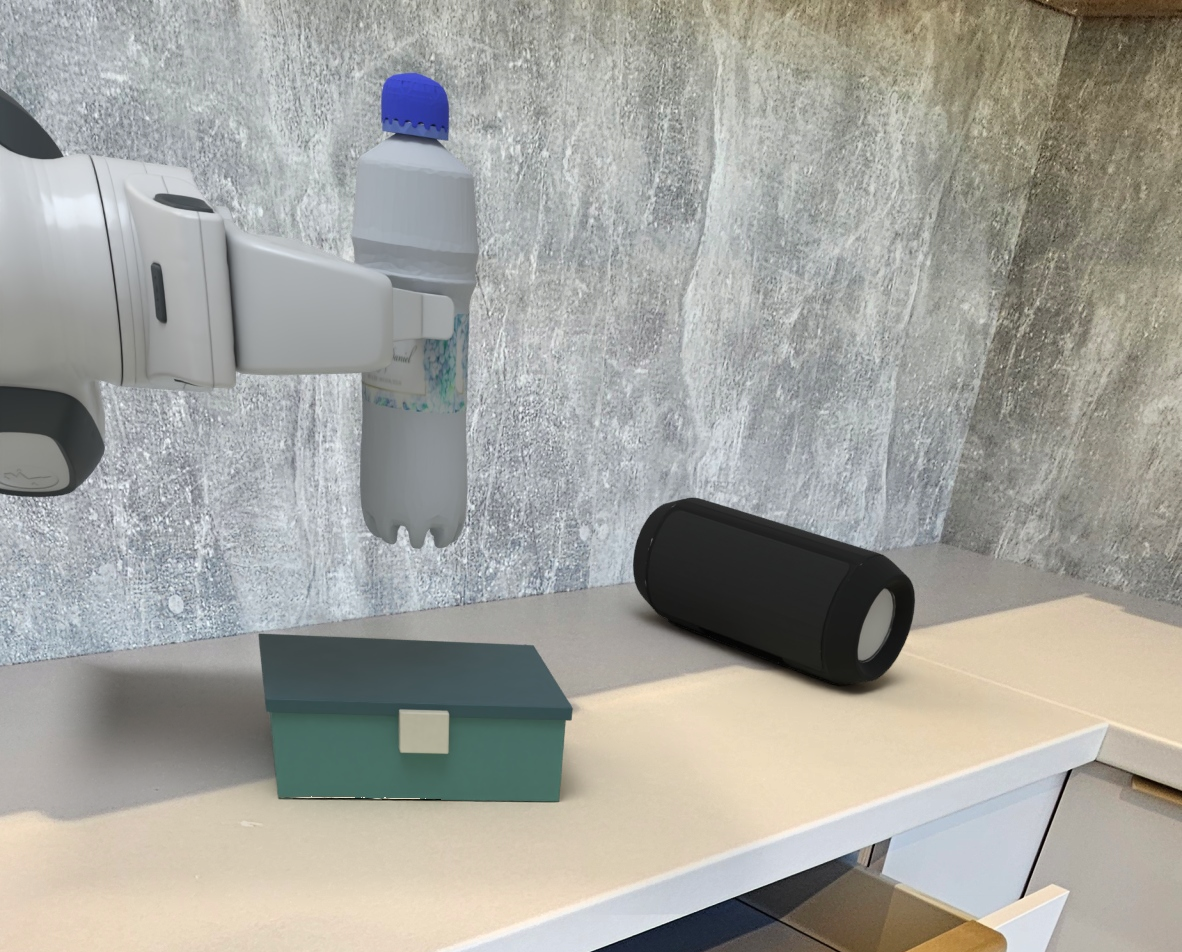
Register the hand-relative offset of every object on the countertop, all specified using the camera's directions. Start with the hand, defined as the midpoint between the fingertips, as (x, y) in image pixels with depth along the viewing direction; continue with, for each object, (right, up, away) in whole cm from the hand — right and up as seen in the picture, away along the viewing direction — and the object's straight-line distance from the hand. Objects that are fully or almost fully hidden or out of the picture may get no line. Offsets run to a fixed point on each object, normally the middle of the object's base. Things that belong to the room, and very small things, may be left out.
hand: (430, 309), depth 65 cm
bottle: (-2, -8, +7) cm, 11 cm away
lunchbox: (-3, -18, +15) cm, 24 cm away
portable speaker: (+24, +4, +44) cm, 50 cm away
